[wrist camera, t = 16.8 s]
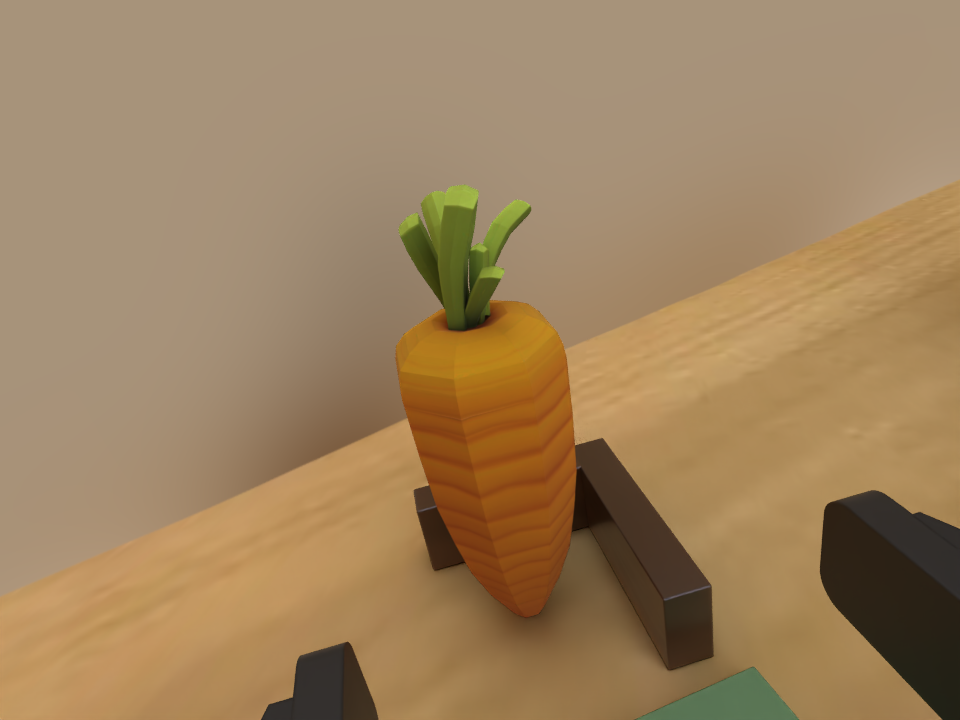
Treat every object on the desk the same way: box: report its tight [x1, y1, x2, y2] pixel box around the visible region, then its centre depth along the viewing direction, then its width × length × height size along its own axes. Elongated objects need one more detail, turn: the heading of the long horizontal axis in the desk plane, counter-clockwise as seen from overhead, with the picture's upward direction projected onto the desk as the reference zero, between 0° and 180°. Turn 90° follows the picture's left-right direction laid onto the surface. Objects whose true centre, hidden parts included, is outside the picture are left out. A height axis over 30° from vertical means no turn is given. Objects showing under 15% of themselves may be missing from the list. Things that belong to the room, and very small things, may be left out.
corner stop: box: [414, 438, 713, 670], centre depth 21 cm, size 8×8×3 cm
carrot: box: [396, 185, 577, 618], centre depth 18 cm, size 5×5×15 cm
